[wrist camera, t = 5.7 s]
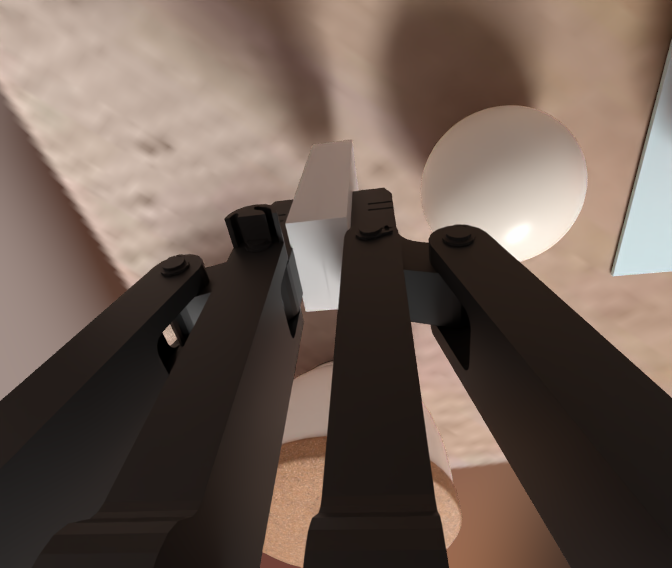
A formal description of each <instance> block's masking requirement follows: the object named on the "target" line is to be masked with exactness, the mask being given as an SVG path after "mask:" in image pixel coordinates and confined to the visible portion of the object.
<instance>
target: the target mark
mask: <svg viewBox="0 0 672 568" xmlns="http://www.w3.org/2000/svg"><path fill="white" fill-rule="evenodd" d="M669 271H672V40H671V44H670V47H669V51H668V55H667V59H666V63H665V67H664V71H663V74H662V78H661V82H660V86H659V90H658V94H657V98H656V101H655V105H654V109H653V113H652V117H651V121H650V125H649V128H648V132H647V136H646V140H645V144H644V148H643V152H642V155H641V159H640V163H639V167H638V171H637V175H636V179H635V182H634V186H633V190H632V194H631V198H630V202H629V206H628V209H627V213H626V217H625V221H624V225H623V229H622V233H621V236H620V240H619V244H618V248H617V252H616V256H615V260H614V263H613V267H612V271H611V275H612V276H622V275H633V274H645V273H657V272H669Z"/></svg>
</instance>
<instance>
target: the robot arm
mask: <svg viewBox="0 0 672 568" xmlns="http://www.w3.org/2000/svg"><path fill="white" fill-rule="evenodd" d="M225 222H226V225H227V228H228V231H229V235H230V238H231V241H232V244H233V247H234V249H233V250H232V252H231V254H230V256H229V258H228V260H227V262H225V263H222V264H218V265H215V266H211V267H207V268H205V266H204V263H203V261H202V259H201V258H200V257H199V256H197V255H191V254H188V255H176V257H175V256H173V257H170V258H168V259H167V260H165V261H163V262H161V263H159V264H158V265H156V266H155V267H154V268H152V269H151V270H150V271H149V272H148V273H147V274H146V275H144V276H143V277H142V278H141V279H140V280H139V281H138V282H136V283H135V284H134V285H133V286H132V287H131V288H129V289H128V290H127V291H126V292H125V293H124V294H123V295H121V296H120V297H119V298H118V299H117V300H116V301H115V302H113V303H112V304H111V305H110V306H109V307H108V308H107V309H105V310H104V311H103V312H102V313H101V314H100V315H99V316H97V317H96V318H95V319H94V320H93V321H92V322H90V323H89V324H88V325H87V326H86V327H85V328H84V329H82V330H81V331H80V332H79V333H78V334H77V335H76V336H74V337H73V338H72V339H71V340H70V341H69V342H67V343H66V344H65V345H64V346H63V347H62V348H61V349H59V350H58V351H57V352H56V353H55V354H54V355H53V356H52V357H50V358H49V359H48V360H47V361H46V362H45V363H43V364H42V365H41V366H40V367H39V368H38V369H36V370H35V371H34V372H33V373H32V374H31V375H30V376H29V377H27V378H26V379H25V380H24V381H23V382H22V383H21V384H19V385H18V386H17V387H16V388H15V389H14V390H12V391H11V392H10V393H9V394H8V395H7V396H5V397H4V398H3V399H2V400H1V401H0V568H260V563H261V556H262V552H263V546H264V541H265V535H266V529H267V524H268V518H269V513H270V507H271V502H272V496H273V490H274V485H275V479H276V474H277V468H278V463H279V457H280V451H281V446H282V440H283V435H284V429H285V424H286V418H287V412H288V407H289V401H290V396H291V390H292V385H293V379H294V373H295V368H296V362H297V357H298V351H299V346H300V340H301V334H302V329H303V316H302V312H301V308H300V306H301V301H302V298H303V302H304V306H305V310H306V312H309V311H322V310H334V309H338V314H337V325H336V337H335V349H334V360H333V372H332V383H331V395H330V406H329V418H328V429H327V441H326V452H325V464H324V475H323V487H322V498H321V505H320V509H319V513H318V514H317V515H315V516H314V517H312V519H311V522H310V526H309V529H308V534H307V540H306V546H305V554H304V563H303V568H449V565H448V558H447V553H446V552H447V551H446V545H445V539H444V532H443V527H442V522H441V517H440V514H439V513H438V510H437V505H436V499H435V492H434V485H433V478H432V470H431V463H430V456H429V449H428V442H427V435H426V427H425V420H424V413H423V406H422V399H421V392H420V384H419V377H418V370H417V363H416V356H415V349H414V342H413V334H412V327H411V322H416V323H423V324H430V325H431V330H432V333H433V335H434V337H435V339H436V340H437V342H438V344H439V345H440V347H441V349H442V350H443V352H444V354H445V355H446V357H447V359H448V360H449V362H450V364H451V366H452V367H453V369H454V371H455V372H456V374H457V376H458V377H459V379H460V381H461V382H462V384H463V386H464V388H465V389H466V391H467V393H468V394H469V396H470V398H471V399H472V401H473V403H474V404H475V406H476V408H477V410H478V411H479V413H480V415H481V416H482V418H483V420H484V421H485V423H486V425H487V426H488V428H489V430H490V432H491V433H492V435H493V437H494V438H495V440H496V442H497V443H498V445H499V447H500V448H501V450H502V452H503V453H504V455H505V457H506V459H507V460H508V462H509V464H510V465H511V467H512V469H513V470H514V472H515V474H516V475H517V477H518V479H519V480H520V482H521V484H522V486H523V487H524V489H525V491H526V492H527V494H528V495H529V497H530V499H531V500H532V503H533V504H534V506H535V507H536V509H537V511H538V513H539V514H540V516H541V518H542V519H543V521H544V523H545V524H546V526H547V528H548V530H549V531H550V533H551V535H552V536H553V538H554V540H555V541H556V543H557V545H558V546H559V548H560V550H561V551H562V553H563V555H564V556H565V558H566V560H567V562H568V563H569V565H570V567H571V568H672V398H671V397H670V396H669V395H668V394H667V393H666V392H665V391H663V390H662V389H661V388H660V387H659V386H658V385H657V384H656V383H655V382H653V381H652V380H651V379H650V378H649V377H648V376H647V375H646V374H644V373H643V372H642V371H641V370H640V369H639V368H638V367H637V366H636V365H634V364H633V363H632V362H631V361H630V360H629V359H628V358H627V357H625V356H624V355H623V354H622V353H621V352H620V351H619V350H618V349H616V348H615V347H614V346H613V345H612V344H611V343H610V342H609V341H608V340H606V339H605V338H604V337H603V336H602V335H601V334H600V333H599V332H597V331H596V330H595V329H594V328H593V327H592V326H591V325H590V324H589V323H587V322H586V321H585V320H584V319H583V318H582V317H581V316H580V315H578V314H577V313H576V312H575V311H574V310H573V309H572V308H571V307H570V306H568V305H567V304H566V303H565V302H564V301H563V300H562V299H561V298H559V297H558V296H557V295H556V294H555V293H554V292H553V291H552V290H550V289H549V288H548V287H547V286H546V285H545V284H544V283H543V282H542V281H540V280H539V279H538V278H537V277H536V276H535V275H534V274H533V273H531V272H530V271H529V270H528V269H527V268H526V267H525V266H524V265H523V264H521V263H520V262H519V261H518V260H517V259H516V258H515V257H514V256H512V255H511V254H510V253H509V252H508V251H507V250H506V249H505V248H504V247H502V246H501V245H500V244H499V243H498V242H497V241H496V240H495V239H493V238H492V237H491V236H490V235H489V234H488V233H487V232H485V231H483V230H482V229H480V228H477V227H473V226H470V225H465V224H463V225H461V224H455V225H453V226H446V227H443V228H440V229H437V230H436V231H434V232H433V233H432V234H431V235H430V237H429V243H425V242H416V241H411V240H408V239H405V238H403V237H402V236H400V235H399V234H398V230H397V228H396V222H395V215H394V208H393V201H392V194H391V193H390V192H389V191H388V190H386V189H385V188H377V189H369V190H360V191H359V190H358V181H357V173H356V165H355V157H354V148H353V140H345V141H337V142H330V143H322V144H314V145H312V147H311V150H310V153H309V156H308V159H307V162H306V165H305V168H304V171H303V173H302V176H301V179H300V182H299V185H298V188H297V191H296V194H295V197H294V200H285V201H277V202H274V203H273V204H272V205H266V204H260V205H252V206H246V207H243V208H241V209H238V210H236V211H234V212H232V213H230V214H229V215H228V216H227V217H226V218H225ZM169 324H170V325H171V327H172V329H173V331H174V333H175V335H176V337H177V340H176V341H175V342H174V343H173V344H172V345H171V346H170V345H169V344H168V343H167V341H166V339H165V337H164V335H163V333H162V332H163V331H164V330H165V329H166V328H167V327H168V325H169Z"/></svg>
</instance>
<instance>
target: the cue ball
mask: <svg viewBox="0 0 672 568" xmlns="http://www.w3.org/2000/svg"><path fill="white" fill-rule="evenodd" d="M587 179H588V175H587V168H586V161H585V158H584V154H583V151H582V149H581V147H580V146H579V144H578V142H577V140H576V138H575V137H574V135H573V134H572V133H571V132H570V130H569V129H568V128H567V127H566V126H564V125H563V124H562V123H561V122H560V121H558V120H557V119H555V118H554V117H553V116H551V115H549V114H547V113H545V112H543V111H541V110H537V109H534V108H531V107H525V106H517V105H506V106H496V107H492V108H487V109H484V110H481V111H478V112H475V113H473V114H471V115H469V116H467V117H465V118H464V119H462V120H461V121H459V122H458V123H456V124H455V125H454V126H453V127H451V128H450V129H449V130H448V131H447V132H446V133H445V134H444V135H443V136H442V137H441V138H440V140H439V141H438V142H437V144H436V145H435V146H434V148H433V150H432V152H431V153H430V155H429V157H428V159H427V162H426V165H425V167H424V171H423V175H422V180H421V203H422V208H423V212H424V215H425V218H426V220H427V222H428V225H429V226H430V228H431V230H432V232H434V231H436V230H437V229H440V228H443V227H446V226H453V225H455V224H461V225H463V224H465V225H470V226H473V227H477V228H480V229H482V230H483V231H485V232H487V233H488V234H489V235H490V236H491V237H492V238H493V239H495V240H496V241H497V242H498V243H499V244H500V245H501V246H502V247H504V248H505V249H506V250H507V251H508V252H509V253H510V254H511V255H512V256H514V257H515V258H516V259H517V260H518V261H519V262H521V261H524V260H527V259H530V258H532V257H534V256H537V255H539V254H540V253H542V252H544V251H546V250H547V249H549V248H550V247H552V246H553V245H554V244H555V243H557V242H558V241H559V240H560V239H561V238H562V237H563V236H564V235H565V234H566V233H567V232H568V231H569V229H570V228H571V226H572V225H573V224H574V222H575V220H576V218H577V217H578V215H579V213H580V211H581V209H582V206H583V203H584V200H585V195H586V190H587Z"/></svg>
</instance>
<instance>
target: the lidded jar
mask: <svg viewBox="0 0 672 568" xmlns="http://www.w3.org/2000/svg"><path fill="white" fill-rule="evenodd" d="M332 372H333V361H331V362H327V363H324V364H322V365H319V366H317V367H316V368H314V369H313V370H311V371H309V372H306V373H304V374H302V375H300V376H299V377H297V378H295V379H294V380H293V385H292V390H291V396H290V401H289V407H288V412H287V418H286V424H285V429H284V435H283V440H282V446H281V451H280V457H279V463H278V468H277V474H276V479H275V485H274V490H273V496H272V502H271V507H270V513H269V518H268V524H267V529H266V535H265V541H264V546H263V552H264V553H266V554H268V555H270V556H272V557H274V558H276V559H279V560H281V561H284V562H286V563H288V564H292V565H295V566H299V567H302V568H303V563H304V554H305V546H306V540H307V534H308V529H309V526H310V522H311V519H312V517H314V516H315V515H317V514H318V513H319V509H320V505H321V498H322V487H323V475H324V464H325V452H326V441H327V429H328V418H329V406H330V395H331V383H332ZM422 406H423V413H424V420H425V427H426V435H427V442H428V449H429V456H430V463H431V470H432V478H433V485H434V492H435V499H436V505H437V510H438V513H439V514H440V517H441V522H442V527H443V532H444V539H445V545H446V549H447V548H448V547H449V546H450V545H451V543H452V542H453V541H454V540H455V538H456V536H457V534H458V532H459V530H460V528H461V522H462V514H461V508H460V503H459V498H458V493H457V490H456V488H455V486H454V484H453V480H452V474H451V469H450V465H449V460H448V456H447V452H446V449H445V446H444V443H443V440H442V437H441V434H440V432H439V430H438V428H437V426H436V424H435V421H434V419H433V417H432V415H431V413H430V412H429V410H428V409H427V407H426V406H425V404H424V403H423V402H422Z"/></svg>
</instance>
